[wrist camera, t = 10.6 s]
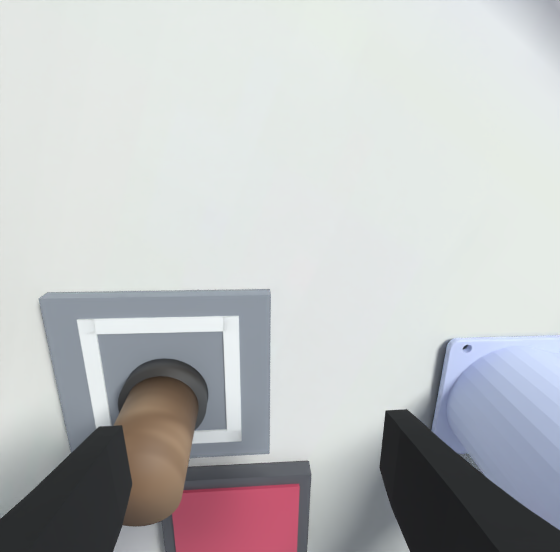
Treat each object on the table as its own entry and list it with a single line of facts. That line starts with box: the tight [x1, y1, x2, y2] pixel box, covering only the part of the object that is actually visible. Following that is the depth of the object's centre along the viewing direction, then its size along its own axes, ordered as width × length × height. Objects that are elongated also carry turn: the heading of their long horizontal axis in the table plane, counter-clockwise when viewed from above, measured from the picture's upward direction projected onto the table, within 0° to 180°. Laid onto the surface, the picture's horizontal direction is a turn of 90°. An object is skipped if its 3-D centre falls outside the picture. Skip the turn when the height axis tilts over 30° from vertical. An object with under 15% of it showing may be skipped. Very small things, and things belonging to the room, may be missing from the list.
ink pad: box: [162, 461, 311, 552], centre depth 23 cm, size 9×7×1 cm
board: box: [39, 289, 271, 458], centre depth 20 cm, size 11×10×1 cm
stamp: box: [113, 358, 208, 526], centre depth 17 cm, size 4×4×6 cm
